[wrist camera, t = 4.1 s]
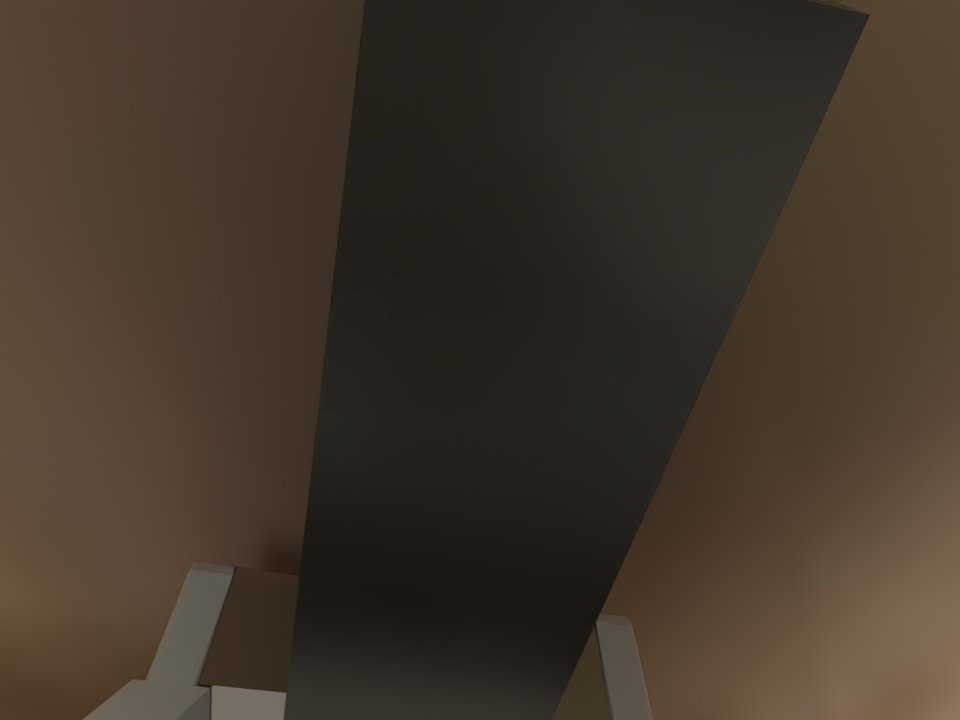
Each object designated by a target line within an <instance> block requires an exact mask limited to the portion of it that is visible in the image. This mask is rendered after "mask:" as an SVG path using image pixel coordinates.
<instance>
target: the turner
mask: <svg viewBox="0 0 960 720" xmlns="http://www.w3.org/2000/svg"><path fill="white" fill-rule="evenodd" d="M868 17H869V14H866V13H864V12H861V11H858V10H856V9H853V8H851V7H848V6H846V5H843V4H841V3H838V2H836V1H833V0H365V5H364V13H363V22H362V31H361V40H360V49H359V58H358V66H357V75H356V84H355V93H354V102H353V110H352V119H351V128H350V137H349V146H348V154H347V163H346V172H345V181H344V190H343V198H342V207H341V216H340V225H339V234H338V243H337V251H336V260H335V269H334V278H333V287H332V295H331V304H330V313H329V322H328V331H327V339H326V348H325V357H324V366H323V375H322V383H321V392H320V401H319V410H318V419H317V428H316V436H315V445H314V454H313V463H312V472H311V480H310V489H309V498H308V507H307V516H306V524H305V533H304V542H303V551H302V560H301V568H300V577H299V586H298V595H297V604H296V612H295V621H294V630H293V639H292V648H291V657H290V665H289V674H288V683H287V692H286V701H285V709H284V718H283V720H552V719H553V716H554V714H555V712H556V710H557V708H558V705H559V703H560V701H561V699H562V696H563V694H564V692H565V690H566V688H567V685H568V683H569V681H570V679H571V676H572V674H573V672H574V670H575V668H576V665H577V663H578V661H579V659H580V656H581V654H582V652H583V650H584V648H585V645H586V643H587V641H588V639H589V637H590V634H591V632H592V630H593V628H594V625H595V623H596V621H597V619H598V617H599V614H600V612H601V610H602V608H603V605H604V603H605V601H606V599H607V597H608V594H609V592H610V590H611V588H612V585H613V583H614V581H615V579H616V577H617V574H618V572H619V570H620V568H621V566H622V563H623V561H624V559H625V557H626V554H627V552H628V550H629V548H630V546H631V543H632V541H633V539H634V537H635V534H636V532H637V530H638V528H639V526H640V523H641V521H642V519H643V517H644V514H645V512H646V510H647V508H648V506H649V503H650V501H651V499H652V497H653V495H654V492H655V490H656V488H657V486H658V483H659V481H660V479H661V477H662V475H663V472H664V470H665V468H666V466H667V463H668V461H669V459H670V457H671V455H672V452H673V450H674V448H675V446H676V443H677V441H678V439H679V437H680V435H681V432H682V430H683V428H684V426H685V424H686V421H687V419H688V417H689V415H690V412H691V410H692V408H693V406H694V404H695V401H696V399H697V397H698V395H699V392H700V390H701V388H702V386H703V384H704V381H705V379H706V377H707V375H708V372H709V370H710V368H711V366H712V364H713V361H714V359H715V357H716V355H717V352H718V350H719V348H720V346H721V344H722V341H723V339H724V337H725V335H726V333H727V330H728V328H729V326H730V324H731V321H732V319H733V317H734V315H735V313H736V310H737V308H738V306H739V304H740V301H741V299H742V297H743V295H744V293H745V290H746V288H747V286H748V284H749V281H750V279H751V277H752V275H753V273H754V270H755V268H756V266H757V264H758V262H759V259H760V257H761V255H762V253H763V250H764V248H765V246H766V244H767V242H768V239H769V237H770V235H771V233H772V230H773V228H774V226H775V224H776V222H777V219H778V217H779V215H780V213H781V210H782V208H783V206H784V204H785V202H786V199H787V197H788V195H789V193H790V191H791V188H792V186H793V184H794V182H795V179H796V177H797V175H798V173H799V171H800V168H801V166H802V164H803V162H804V159H805V157H806V155H807V153H808V151H809V148H810V146H811V144H812V142H813V139H814V137H815V135H816V133H817V131H818V128H819V126H820V124H821V122H822V120H823V117H824V115H825V113H826V111H827V108H828V106H829V104H830V102H831V100H832V97H833V95H834V93H835V91H836V88H837V86H838V84H839V82H840V80H841V77H842V75H843V73H844V71H845V68H846V66H847V64H848V62H849V60H850V57H851V55H852V53H853V51H854V48H855V46H856V44H857V42H858V40H859V37H860V35H861V33H862V31H863V29H864V26H865V24H866V22H867V20H868Z"/></svg>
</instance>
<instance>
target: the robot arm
mask: <svg viewBox="0 0 960 720" xmlns="http://www.w3.org/2000/svg"><path fill="white" fill-rule="evenodd" d="M299 577H300V576H296V575H289V574H283V573H276V572H270V571H263V570H257V569H250V568H244V567H237V566H230V565H222V564H215V563H208V562H201V561H196V562H195V563H194V565H193V566H192V568H191V569H190V571H189V572H188V574H187V577H186V579H185V582H184V584H183V587H182V590H181V592H180V595H179V597H178V600H177V602H176V605H175V607H174V610H173V612H172V615H171V617H170V620H169V622H168V625H167V627H166V630H165V632H164V635H163V638H162V640H161V643H160V645H159V648H158V650H157V653H156V655H155V658H154V660H153V663H152V665H151V668H150V670H149V673H148V675H147V678H146V680H139V679H132V680H131V681H129V682H128V683H127V684H126V685H125V686H123V687H122V688H121V689H120V690H118V691H117V692H116V693H115V694H113V695H112V696H111V697H110V698H108V699H107V700H106V701H105V702H103V703H102V704H101V705H100V706H99V707H97V708H96V709H95V710H94V711H92V712H91V713H90V714H89V715H87V716H86V717H85V718H84V719H82V720H283V718H284V709H285V701H286V692H287V683H288V674H289V665H290V657H291V648H292V639H293V630H294V621H295V612H296V604H297V595H298V586H299ZM552 720H653V717H652V713H651V708H650V703H649V699H648V694H647V690H646V685H645V681H644V676H643V671H642V667H641V662H640V658H639V653H638V649H637V644H636V639H635V635H634V630H633V626H632V623H631V622H630V620H629V619H628V617H624V616H616V615H609V614H601V613H600V614H599V617H598V619H597V621H596V623H595V625H594V628H593V630H592V632H591V634H590V637H589V639H588V641H587V643H586V645H585V648H584V650H583V652H582V654H581V656H580V659H579V661H578V663H577V665H576V668H575V670H574V672H573V674H572V676H571V679H570V681H569V683H568V685H567V688H566V690H565V692H564V694H563V696H562V699H561V701H560V703H559V705H558V708H557V710H556V712H555V714H554V716H553V719H552Z"/></svg>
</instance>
